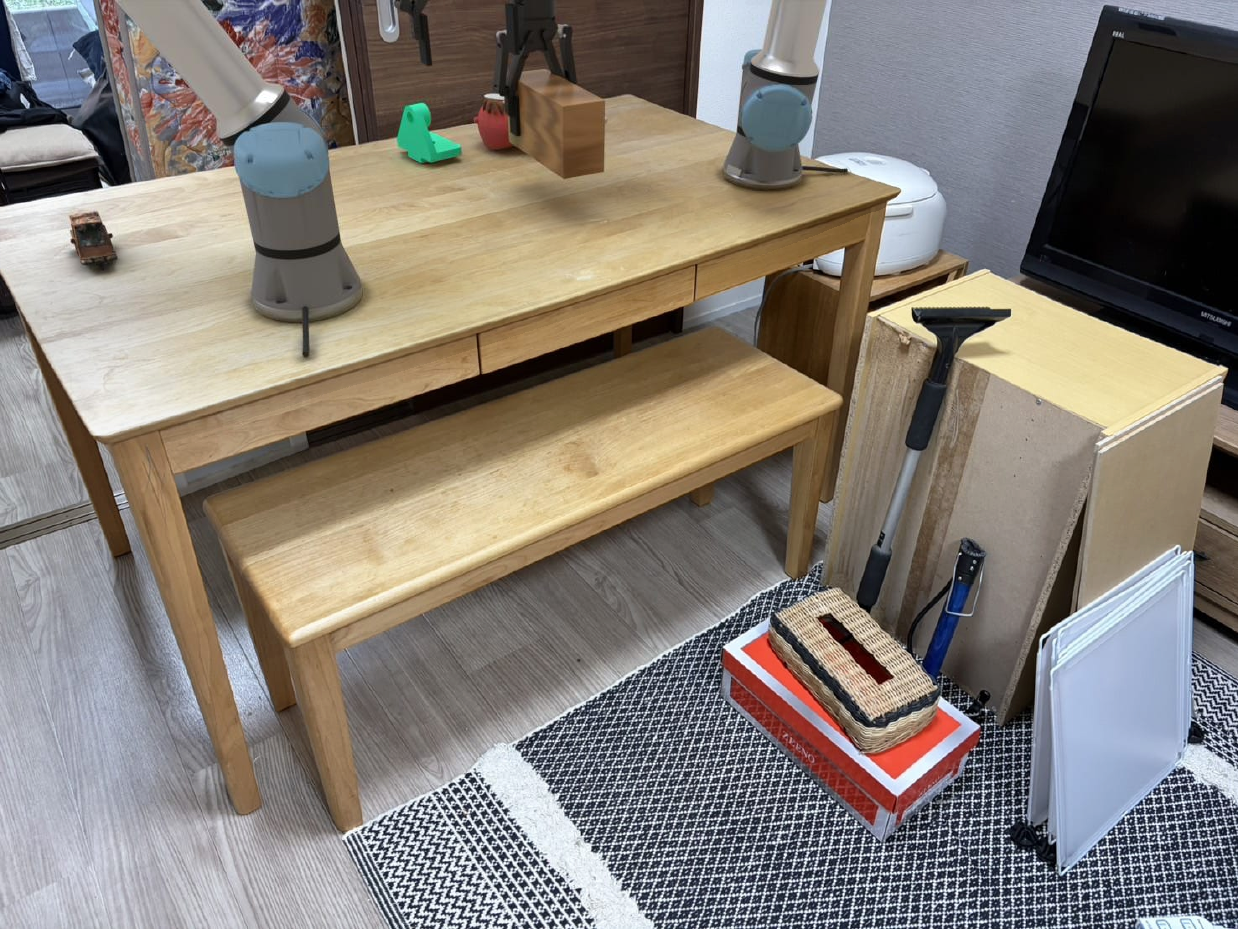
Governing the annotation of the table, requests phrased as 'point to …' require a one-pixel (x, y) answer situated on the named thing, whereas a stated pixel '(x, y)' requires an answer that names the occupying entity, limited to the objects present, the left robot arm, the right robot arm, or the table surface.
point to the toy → (495, 122)
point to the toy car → (91, 239)
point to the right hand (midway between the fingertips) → (536, 130)
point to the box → (560, 124)
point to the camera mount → (423, 137)
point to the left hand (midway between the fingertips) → (471, 58)
